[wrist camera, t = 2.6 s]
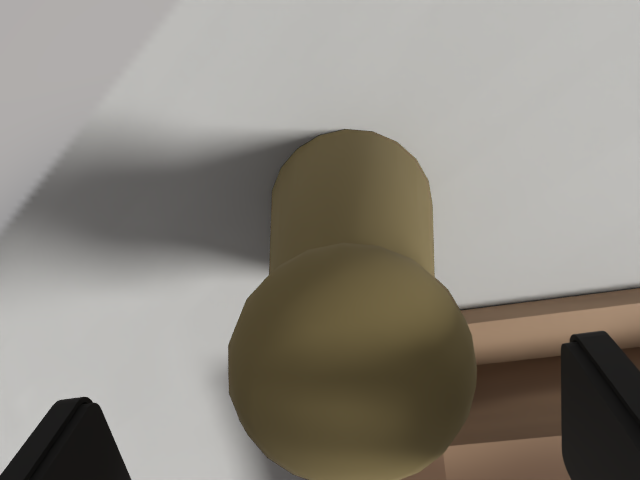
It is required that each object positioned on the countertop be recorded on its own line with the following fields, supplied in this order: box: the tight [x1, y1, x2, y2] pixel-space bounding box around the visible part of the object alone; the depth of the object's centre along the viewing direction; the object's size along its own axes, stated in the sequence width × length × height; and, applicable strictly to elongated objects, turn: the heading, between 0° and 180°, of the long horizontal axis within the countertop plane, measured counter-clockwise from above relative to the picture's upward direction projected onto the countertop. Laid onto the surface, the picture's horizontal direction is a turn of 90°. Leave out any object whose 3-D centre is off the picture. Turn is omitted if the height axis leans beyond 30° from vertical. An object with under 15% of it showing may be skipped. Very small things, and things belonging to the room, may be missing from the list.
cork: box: [228, 129, 477, 480], centre depth 15 cm, size 6×6×11 cm
